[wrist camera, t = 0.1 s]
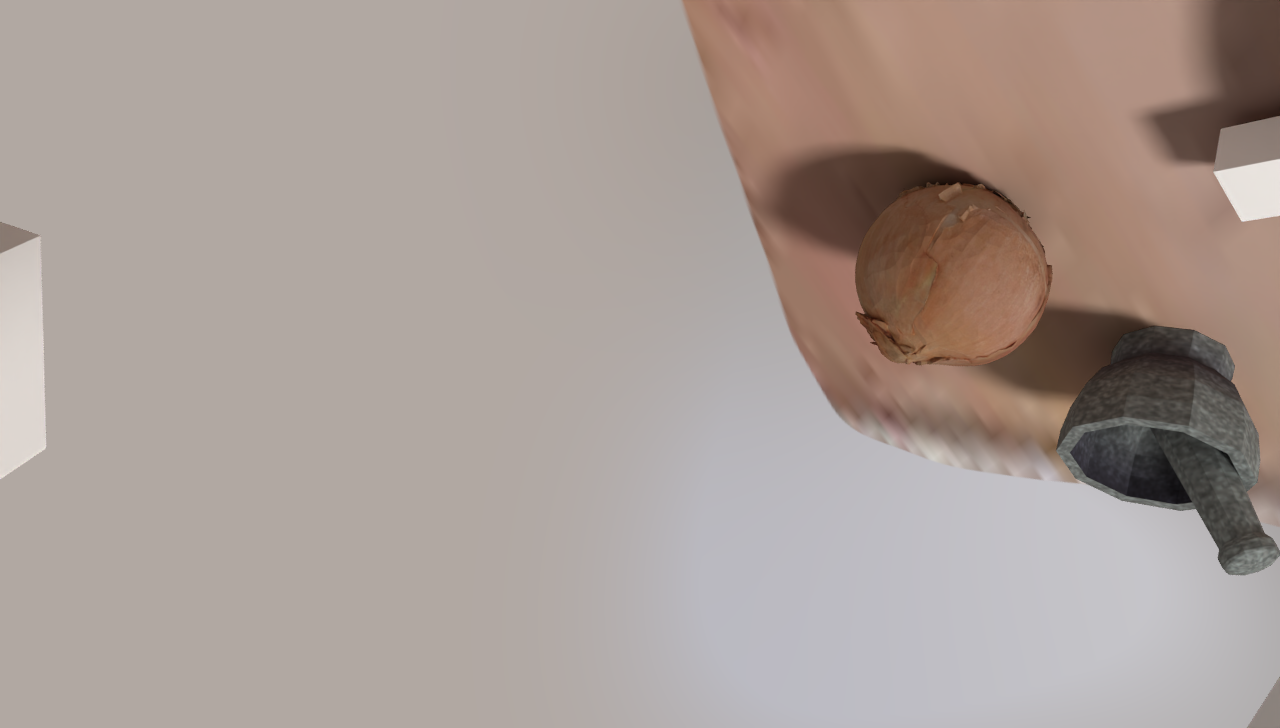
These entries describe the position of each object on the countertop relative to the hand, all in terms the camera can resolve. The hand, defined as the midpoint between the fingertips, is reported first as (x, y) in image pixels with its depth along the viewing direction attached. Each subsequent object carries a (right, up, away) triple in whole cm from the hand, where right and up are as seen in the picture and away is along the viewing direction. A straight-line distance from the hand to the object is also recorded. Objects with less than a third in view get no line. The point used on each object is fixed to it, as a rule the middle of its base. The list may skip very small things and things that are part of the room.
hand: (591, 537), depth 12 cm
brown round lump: (+18, +10, +49) cm, 53 cm away
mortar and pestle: (+31, +2, +53) cm, 61 cm away
